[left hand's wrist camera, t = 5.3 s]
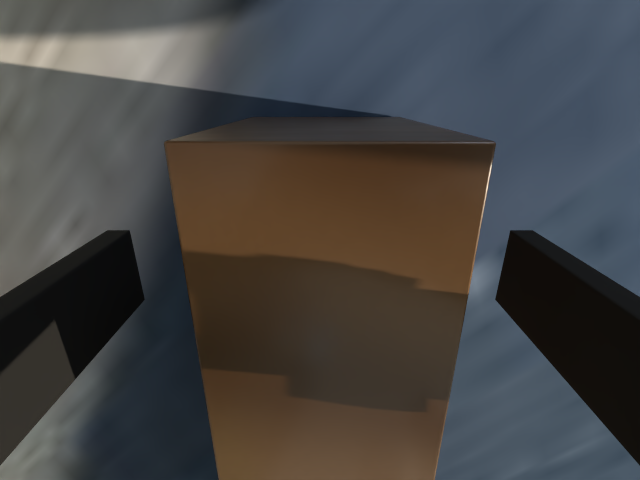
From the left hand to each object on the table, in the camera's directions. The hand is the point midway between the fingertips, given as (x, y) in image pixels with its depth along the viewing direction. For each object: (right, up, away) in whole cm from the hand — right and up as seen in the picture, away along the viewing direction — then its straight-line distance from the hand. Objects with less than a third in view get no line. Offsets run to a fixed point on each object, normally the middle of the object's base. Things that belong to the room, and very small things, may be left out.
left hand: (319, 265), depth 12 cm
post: (0, -28, +14) cm, 32 cm away
